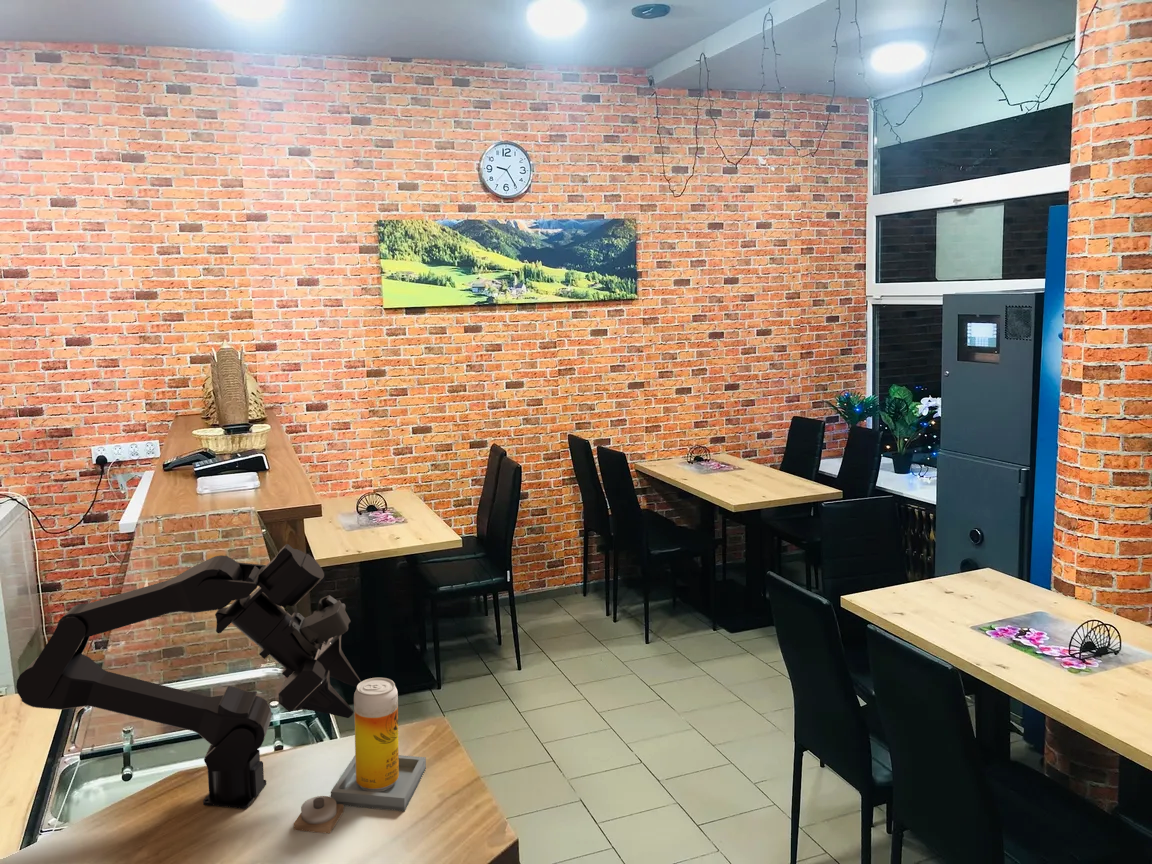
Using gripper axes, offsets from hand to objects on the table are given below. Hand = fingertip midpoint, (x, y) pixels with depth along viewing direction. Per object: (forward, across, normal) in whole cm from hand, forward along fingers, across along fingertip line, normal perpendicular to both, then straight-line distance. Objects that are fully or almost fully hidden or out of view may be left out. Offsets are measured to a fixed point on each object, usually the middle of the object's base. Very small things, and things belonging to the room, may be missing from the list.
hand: (355, 699), depth 126 cm
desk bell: (+7, -7, +13) cm, 16 cm away
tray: (+12, 0, +7) cm, 14 cm away
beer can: (+12, 0, +7) cm, 14 cm away
